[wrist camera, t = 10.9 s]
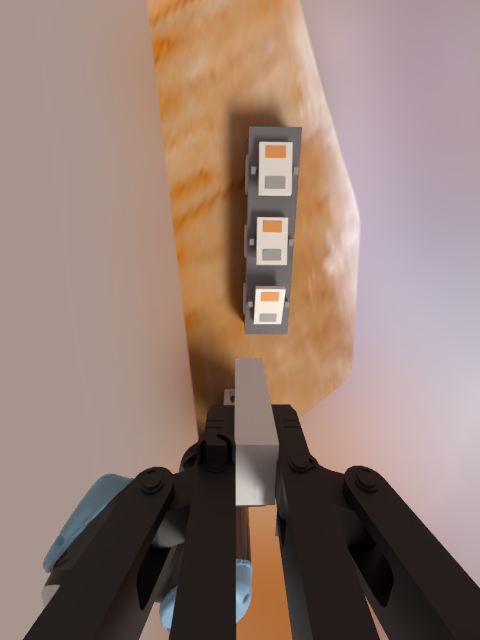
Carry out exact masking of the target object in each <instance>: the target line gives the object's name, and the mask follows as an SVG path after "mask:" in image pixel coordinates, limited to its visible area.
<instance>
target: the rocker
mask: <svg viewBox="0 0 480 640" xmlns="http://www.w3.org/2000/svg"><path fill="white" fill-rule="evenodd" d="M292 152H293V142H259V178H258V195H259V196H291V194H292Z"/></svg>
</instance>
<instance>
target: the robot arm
mask: <svg viewBox="0 0 480 640" xmlns="http://www.w3.org/2000/svg"><path fill="white" fill-rule="evenodd" d="M275 497H276V504H277V519H276V533H275V536H279V542H280V550H281V557H282V565H283V572H284V580H285V587H286V595H287V601H288V609H289V617H290V623H291V631H292V639H293V640H380V638H379V636H378V633H377V630H376V627H375V624H374V621H373V618H372V616H371V612H370V610H369V607H368V604H367V601H366V598H367V600H368V602H369V604H370V605H371V607H372V609H373V611H374V612H375V615H376V616H377V618H378V620H379V622H380V624H381V626H382V628H383V629H384V631H385V633H386V635H387V637H388V639H389V640H480V588H479V587H478V586H477V584H476V583H475V582H474V581H473V580H472V579H471V578H470V577H469V576H468V574H467V573H466V572H465V571H464V570H463V568H462V567H461V566H460V565H459V564H458V563H457V562H456V560H455V559H454V558H453V557H452V556H451V555H450V553H449V552H448V551H447V550H446V549H445V548H444V547H443V546H442V544H441V543H440V542H439V541H438V540H437V539H436V537H435V536H434V535H433V534H432V533H431V532H430V531H429V530H428V528H427V527H426V526H425V525H424V524H423V523H422V521H421V520H420V519H419V518H418V517H417V516H416V515H415V513H414V512H413V511H412V510H411V509H410V508H409V506H408V505H407V504H406V503H405V502H404V501H403V500H402V498H401V497H400V496H399V495H398V494H397V493H396V492H395V490H394V489H393V488H392V487H391V486H390V485H389V484H388V482H387V481H386V480H385V479H384V478H383V477H382V476H381V475H380V474H379V473H377V472H376V471H374V470H372V469H370V468H368V467H364V466H352V467H350V468H348V469H347V471H346V472H345V474H342V473H339V472H335V471H331V470H328V469H326V468H324V467H322V466H320V465H319V464H318V462H317V460H316V459H315V458H314V457H313V456H312V455H310V452H309V449H308V447H307V443H306V440H305V437H304V434H303V431H302V428H301V426H300V422H299V419H298V416H297V413H296V411H295V410H294V409H293V408H292V407H291V406H290V405H271V402H270V397H269V392H268V387H267V381H266V376H265V371H264V366H263V361H262V358H235V405H213V406H212V407H211V409H210V410H209V411H208V414H207V420H206V427H205V433H204V435H203V436H202V437H201V438H200V439H199V440H198V442H197V443H196V444H194V445H193V446H191V447H190V448H189V449H188V450H187V451H186V452H185V454H184V456H183V458H182V460H181V464H180V469H179V473H176V474H172V473H171V472H170V471H169V470H168V469H166V468H163V467H152V468H149V469H146V470H144V471H143V472H141V473H139V474H138V475H137V477H136V478H135V479H134V478H131V479H129V478H126V477H122V476H118V475H116V474H107V475H104V476H102V477H101V478H99V479H98V480H97V481H96V482H95V483H94V485H93V486H92V487H91V488H90V490H89V491H88V492H87V494H86V495H85V496H84V498H83V499H82V500H81V502H80V503H79V505H78V506H77V508H76V509H75V511H74V512H73V513H72V515H71V516H70V518H69V519H68V521H67V522H66V524H65V525H64V527H63V529H62V530H61V533H60V535H59V536H58V537H57V539H56V541H55V542H54V544H53V545H52V546H51V548H50V550H49V552H48V553H47V556H46V557H45V559H44V562H43V568H44V569H45V570H46V572H47V573H49V572H51V574H50V576H49V578H48V580H47V582H46V584H45V586H44V588H43V590H42V592H41V593H42V600H43V606H44V610H43V611H42V613H41V614H40V616H39V617H38V618H37V620H36V621H35V623H34V624H33V626H32V627H31V629H30V630H29V632H28V633H27V634H26V636H25V637H24V639H23V640H139V638H140V635H141V633H142V631H143V628H144V626H145V623H146V621H147V618H148V616H149V613H150V611H151V609H152V606H153V604H154V602H158V603H160V610H159V614H160V621H161V624H162V626H163V627H164V628H167V630H168V632H170V635H169V640H236V623H237V622H238V621H239V620H240V619H241V618H242V617H243V616H244V614H245V613H246V611H247V609H248V607H249V604H250V600H251V585H252V564H251V549H250V530H249V512H248V507H237V506H236V505H275ZM364 594H365V595H364ZM365 596H366V598H365Z"/></svg>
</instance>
